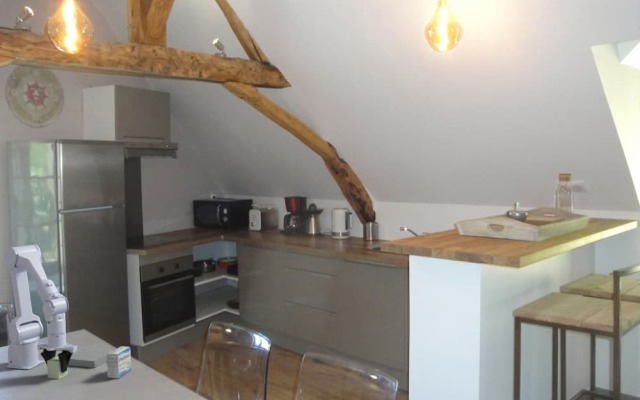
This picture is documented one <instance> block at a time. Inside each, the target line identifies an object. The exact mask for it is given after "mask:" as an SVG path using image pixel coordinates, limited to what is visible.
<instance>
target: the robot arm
mask: <svg viewBox="0 0 640 400" xmlns="http://www.w3.org/2000/svg"><path fill="white" fill-rule="evenodd" d="M4 257H5V258H4V259H5V266H6V270H7V271H9V272H10V277H11V285H12V291H13V292H12V293H13V299H14V306H15V313H16V316H15V317H14V318H13V319H12V320H11V321H10V322H9V324H8V325H9V331H8V338H9V339H10V343H9V345H8V348H7V359H8V360H7V363H8V365H7V366H6V368H8V369H9V368H11V369H19V370H20V369H21V370H30V369H32V368H34V367H37V366H39V365H41V364H43V363H45V364H46V365H47V361H48V360H50V359H52V358H54V357H56V356H58V357H59V360H60V366H61V373H64V372H65V371H67V368H68V369H69V366H68V364H69V361H70V358H71V356H72V355H74V354H75V353H77V352H78V345H75V344H71V343H68V342H67V330H66V328H67V327H66V324H67V323H66V313H67V312H68V311H69V308H70V306H69V305H70V304H69V300H68V298H67V297H66V296H64V295H63V294H62V293H60V292H59V290H58V288H57V286H56V285H55V283H54V281H53V280H52V279H48V277H47V274H46V272H45V269H44V267H43V265H42V263H41V258H42V251H41V249H40V247H39V245H38V244H34V243H33V244H29V245H21V246H14V247H13V246H10V247H8V248H7V250H6V252H5V254H4ZM28 272H29V274H30V275H31V277H32V278H33V280H34V282H35V283H36V286H35V290H36V292H37V294H38V296H39V298H40V300H41V301H42V304H43V306H42V311H43V315H44V319H45V321H46V329H47V330H46V331H47V333H46V334H47V336H46V337H47V342H39V340H40V339H41V336H43V332H44V326H43V324H42V322H41V318H40V316H38V315H36V314H34V313H33V307H32V300H31V293H30V287H29V279H28ZM41 350H43V351H42V352H40V356H41V357H42V358H43V359H42V360H41V359H39V351H41ZM57 352H60V353H57Z"/></svg>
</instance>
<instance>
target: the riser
mask: <svg viewBox="0 0 640 400" xmlns="http://www.w3.org/2000/svg"><path fill="white" fill-rule="evenodd" d="M110 352H111V351H107V350H95V349H82V350H80V351H77V352H75V353H73V354H72V356H71V358H70V361H69V364H68V367H69V366H70V367H81V368H91V369H96V368H97V367H99V366H101V365H103V364H104V363H107V354H108V353H110Z"/></svg>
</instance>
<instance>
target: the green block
mask: <svg viewBox="0 0 640 400" xmlns="http://www.w3.org/2000/svg"><path fill="white" fill-rule="evenodd" d="M46 366H47V378H48V379H55V380H57V379H58V380H60V379H61V378H64V377H65V376H67V375H68V374H69V367H68V368H67V371H65V372H64V373H61V366H60V360H59V357H58V355H55V357H54V358H52V359H50V360H48V361H47V364H46Z"/></svg>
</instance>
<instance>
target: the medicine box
mask: <svg viewBox="0 0 640 400" xmlns="http://www.w3.org/2000/svg"><path fill="white" fill-rule="evenodd" d="M109 352H110V353H108V354H107V361H106V372H107V373H106V374H107V375H106V376H107V378H108V379H116V380H118V379H121V378H122V377H124V376H125V375H126V374H127V373H129V372H130V371H132V360H131V359H132V357H131V355H132V354H131V353H132V352H131V347H130V346H123V345H122V346H118V347H117V348H115V349H113V350H112V351H109Z"/></svg>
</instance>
